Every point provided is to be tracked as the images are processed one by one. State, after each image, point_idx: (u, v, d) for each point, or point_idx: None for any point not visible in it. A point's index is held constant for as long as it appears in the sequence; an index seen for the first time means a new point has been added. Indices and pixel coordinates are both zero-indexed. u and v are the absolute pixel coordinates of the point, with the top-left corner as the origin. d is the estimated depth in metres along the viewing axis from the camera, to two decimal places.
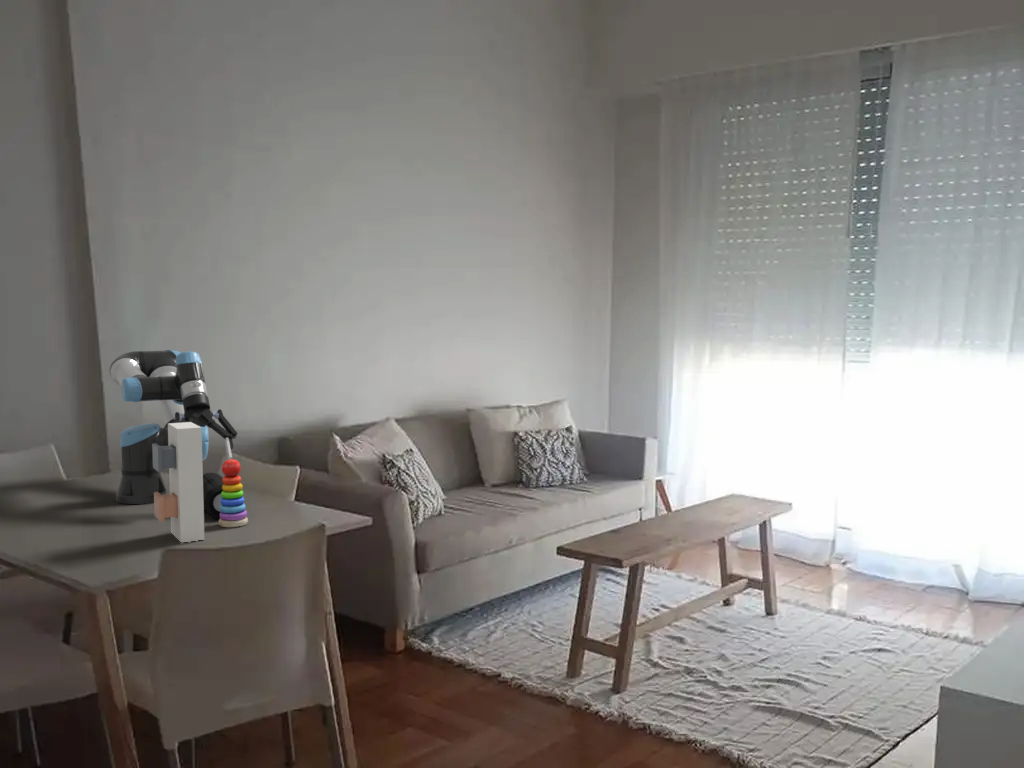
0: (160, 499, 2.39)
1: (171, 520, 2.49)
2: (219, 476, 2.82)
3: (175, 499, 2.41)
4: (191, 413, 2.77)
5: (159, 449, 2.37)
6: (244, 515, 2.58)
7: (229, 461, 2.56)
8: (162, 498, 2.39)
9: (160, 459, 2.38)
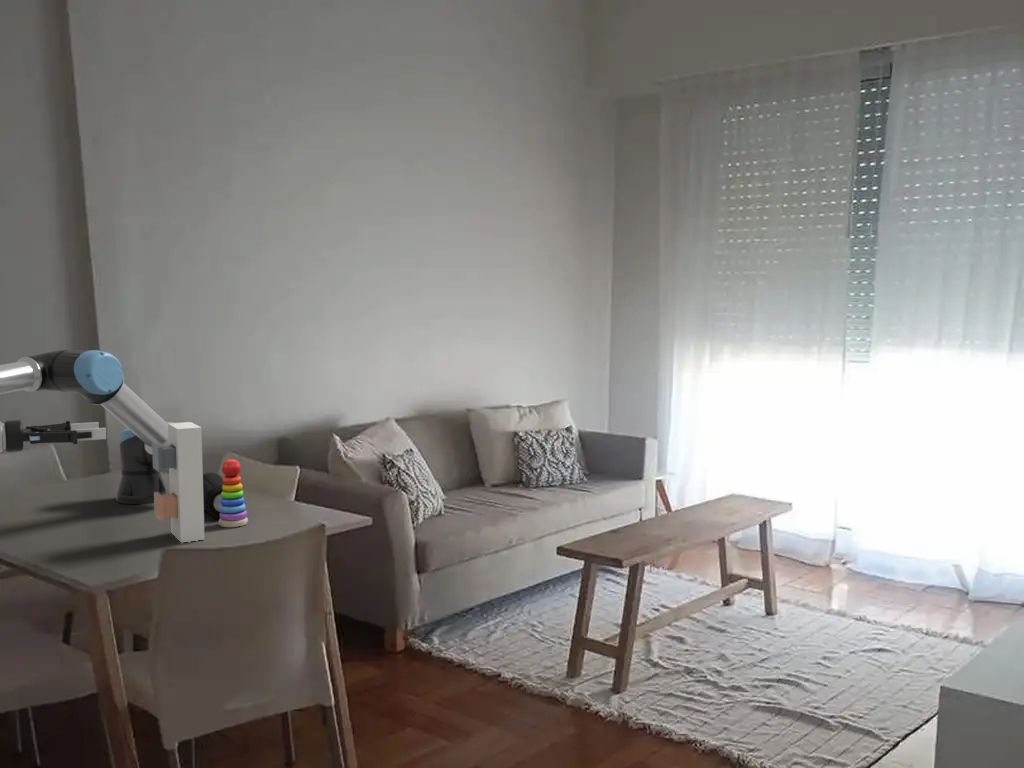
0: (160, 499, 2.39)
1: (171, 520, 2.49)
2: (219, 476, 2.82)
3: (175, 499, 2.41)
4: None
5: (159, 449, 2.37)
6: (244, 515, 2.58)
7: (229, 461, 2.56)
8: (162, 498, 2.39)
9: (160, 459, 2.38)
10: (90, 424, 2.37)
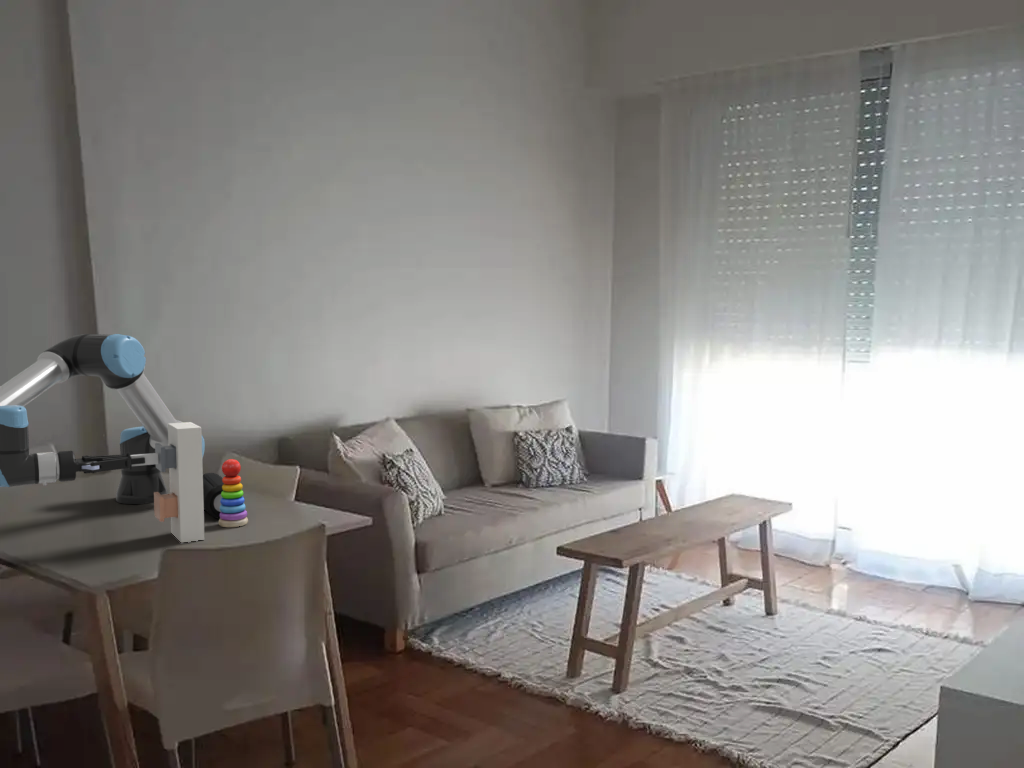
0: (160, 499, 2.39)
1: (171, 520, 2.49)
2: (219, 476, 2.82)
3: (175, 499, 2.41)
4: None
5: (162, 449, 2.38)
6: (244, 515, 2.58)
7: (229, 461, 2.56)
8: (162, 498, 2.39)
9: (163, 459, 2.38)
10: None
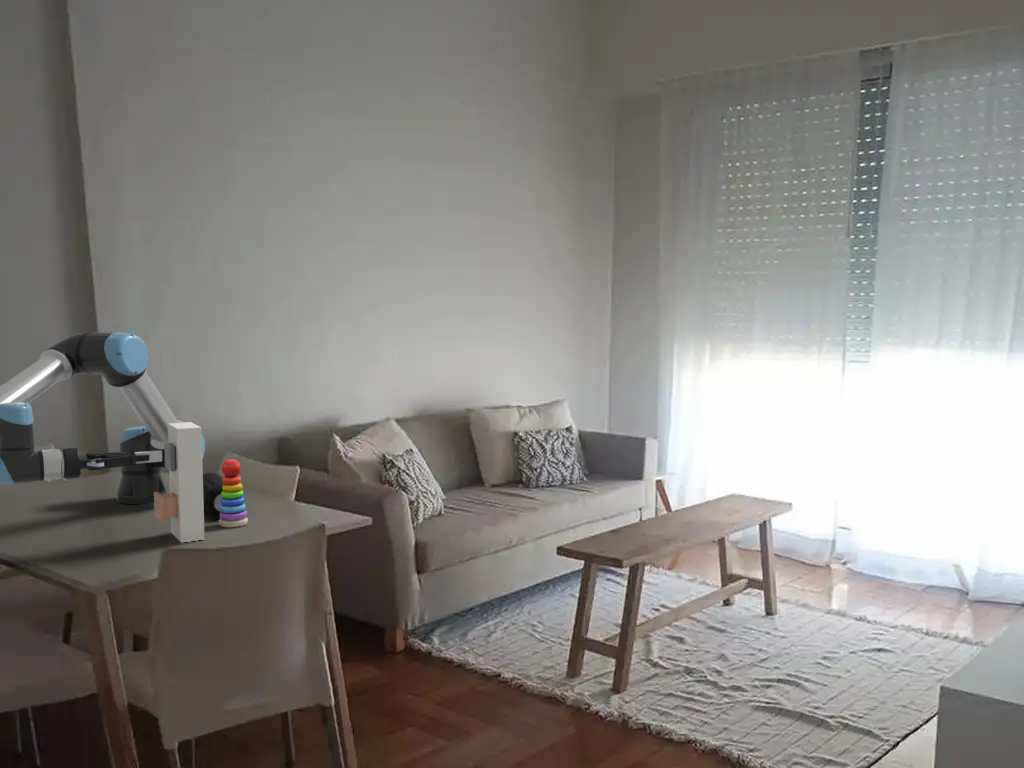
0: (160, 499, 2.39)
1: (171, 520, 2.49)
2: (219, 476, 2.82)
3: (175, 499, 2.41)
4: None
5: (171, 448, 2.39)
6: (244, 515, 2.58)
7: (229, 461, 2.56)
8: (162, 498, 2.39)
9: (172, 458, 2.39)
10: None
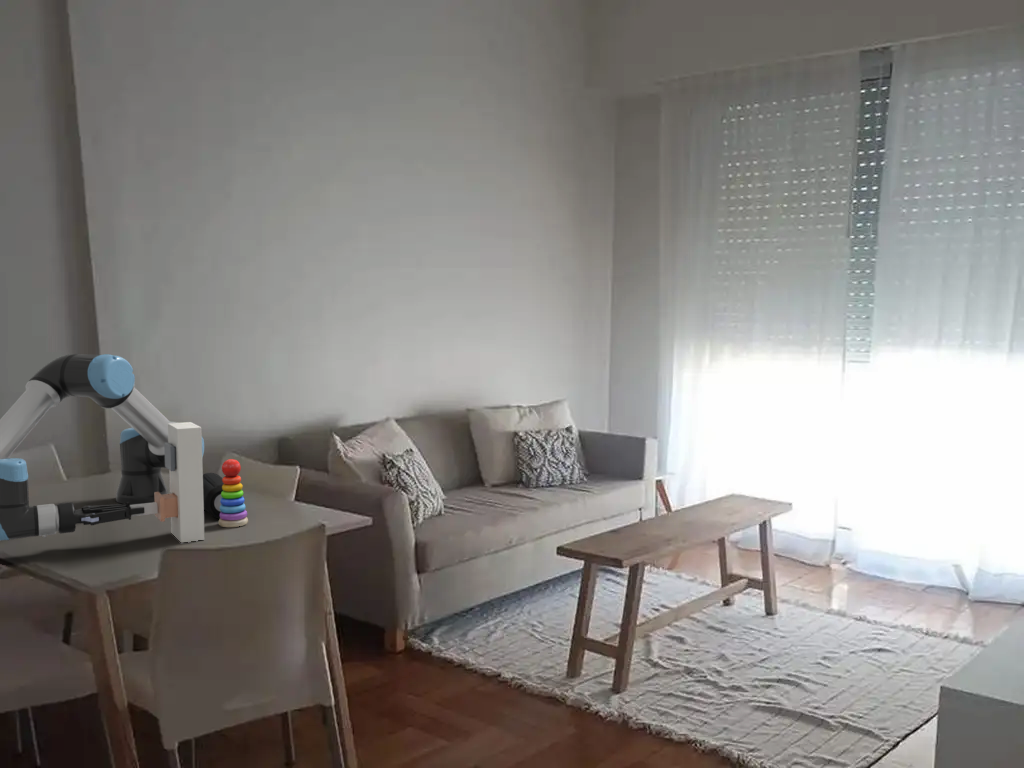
0: (161, 499, 2.39)
1: (171, 520, 2.49)
2: (219, 476, 2.82)
3: (176, 499, 2.41)
4: None
5: (171, 448, 2.39)
6: (244, 515, 2.58)
7: (229, 461, 2.56)
8: (163, 498, 2.39)
9: (172, 458, 2.39)
10: None
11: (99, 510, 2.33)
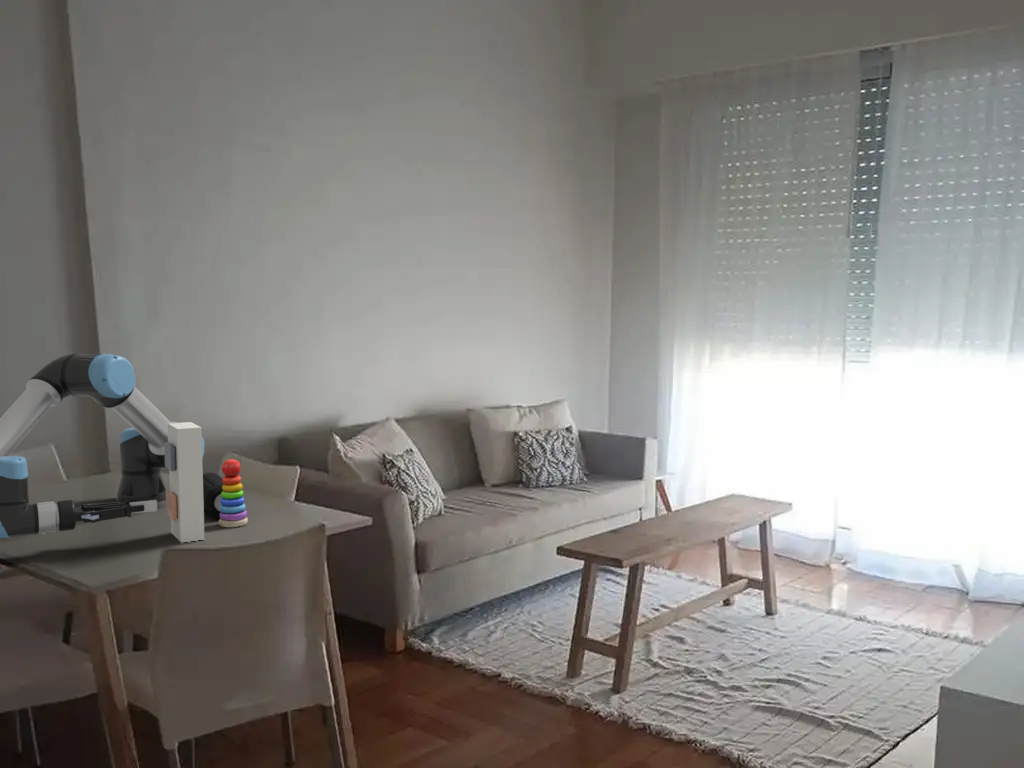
0: (172, 498, 2.40)
1: (171, 520, 2.49)
2: (218, 476, 2.82)
3: None
4: None
5: (171, 448, 2.39)
6: (244, 515, 2.58)
7: (229, 461, 2.56)
8: (174, 497, 2.40)
9: (172, 458, 2.39)
10: None
11: (99, 508, 2.33)
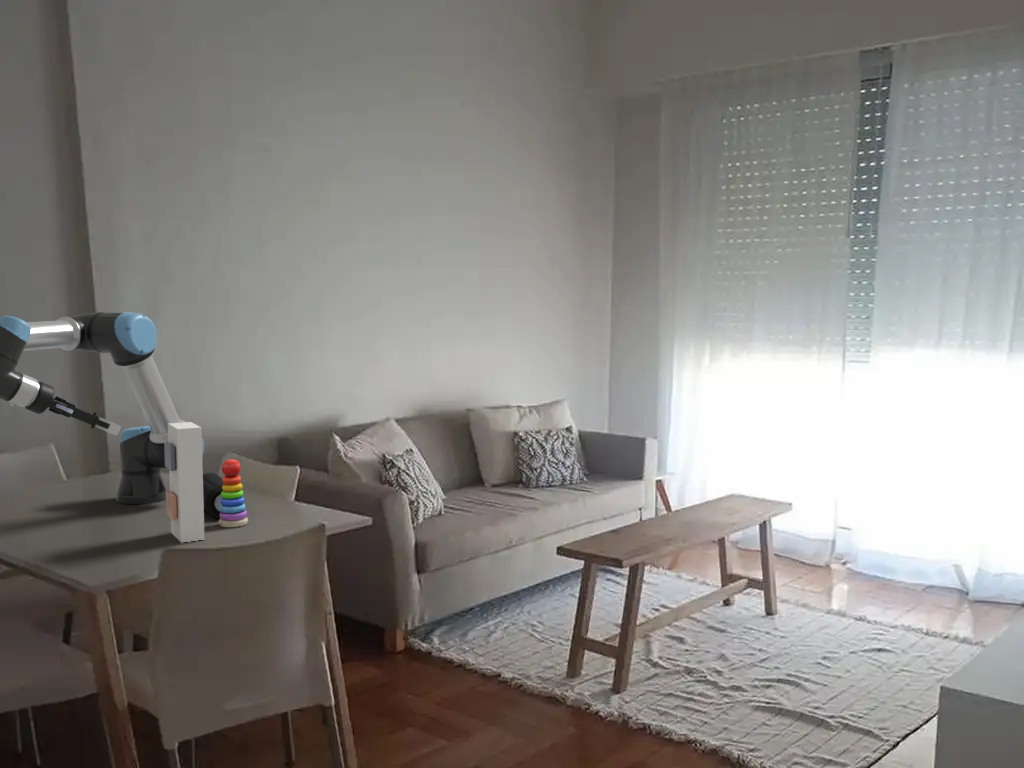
0: (172, 498, 2.40)
1: (171, 520, 2.49)
2: (218, 476, 2.82)
3: None
4: None
5: (171, 448, 2.39)
6: (244, 515, 2.58)
7: (229, 461, 2.56)
8: (174, 497, 2.40)
9: (172, 458, 2.39)
10: None
11: (73, 406, 2.33)
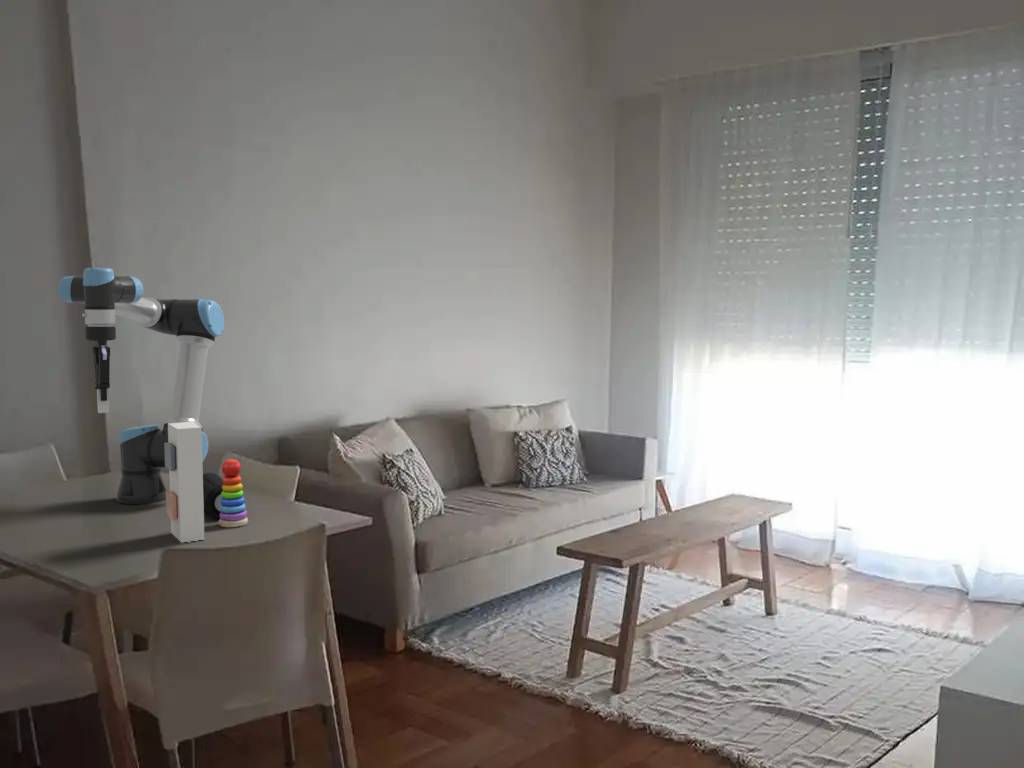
0: (172, 498, 2.40)
1: (171, 520, 2.49)
2: (218, 476, 2.82)
3: None
4: (95, 343, 2.51)
5: (171, 448, 2.39)
6: (244, 515, 2.58)
7: (229, 461, 2.56)
8: (174, 497, 2.40)
9: (172, 458, 2.39)
10: None
11: None
